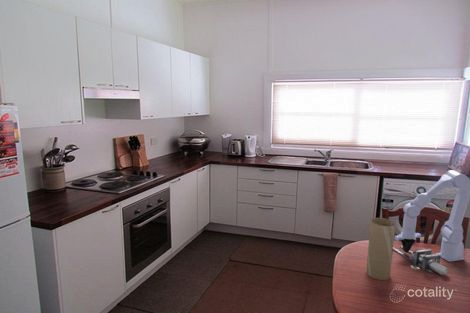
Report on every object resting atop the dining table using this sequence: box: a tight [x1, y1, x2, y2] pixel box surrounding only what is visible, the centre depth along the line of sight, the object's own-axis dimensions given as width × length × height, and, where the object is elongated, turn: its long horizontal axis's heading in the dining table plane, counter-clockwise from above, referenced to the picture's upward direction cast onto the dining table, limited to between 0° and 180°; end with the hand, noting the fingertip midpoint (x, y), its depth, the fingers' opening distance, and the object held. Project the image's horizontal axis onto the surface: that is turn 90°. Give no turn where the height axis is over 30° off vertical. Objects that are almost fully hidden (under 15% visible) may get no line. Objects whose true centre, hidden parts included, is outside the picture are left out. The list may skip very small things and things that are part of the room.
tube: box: [365, 217, 397, 281], centre depth 143 cm, size 10×10×25 cm
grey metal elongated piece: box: [410, 250, 448, 276], centre depth 151 cm, size 16×4×4 cm, turn 19°
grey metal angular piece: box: [393, 245, 442, 275], centre depth 157 cm, size 12×25×7 cm, turn 15°
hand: (406, 251), depth 164 cm, fingers closed
